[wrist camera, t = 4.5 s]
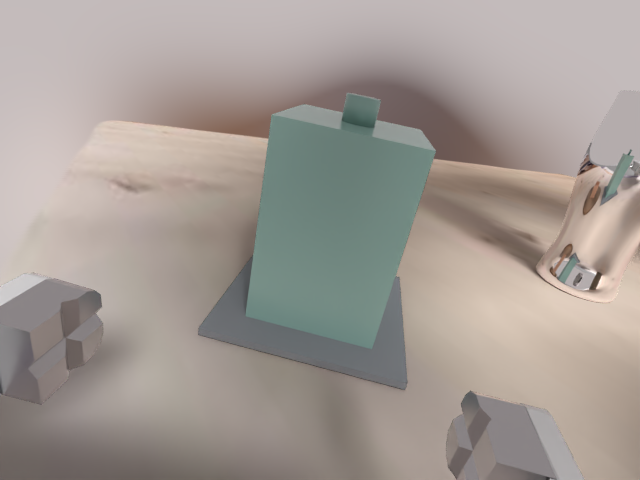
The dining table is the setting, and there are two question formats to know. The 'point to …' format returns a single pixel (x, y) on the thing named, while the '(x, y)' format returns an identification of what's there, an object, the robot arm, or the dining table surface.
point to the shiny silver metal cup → (601, 211)
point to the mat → (312, 337)
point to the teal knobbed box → (334, 218)
